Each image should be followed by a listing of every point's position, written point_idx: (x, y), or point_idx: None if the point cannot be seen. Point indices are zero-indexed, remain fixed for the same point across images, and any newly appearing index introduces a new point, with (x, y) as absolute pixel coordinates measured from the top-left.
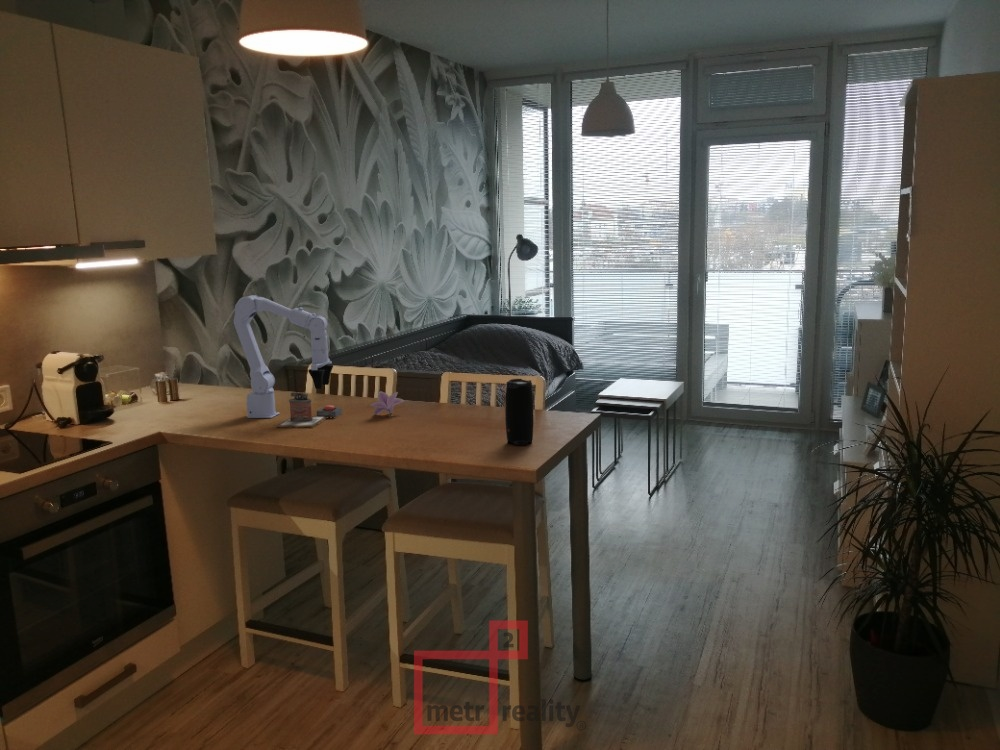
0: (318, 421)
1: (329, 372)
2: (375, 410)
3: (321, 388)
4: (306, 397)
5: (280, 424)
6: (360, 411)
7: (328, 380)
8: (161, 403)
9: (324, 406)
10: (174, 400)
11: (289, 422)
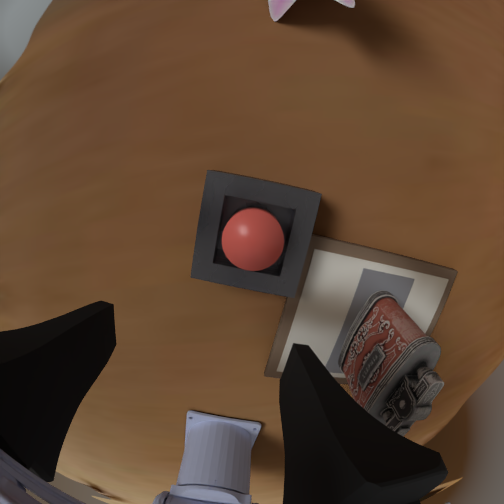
0: (398, 262)
1: (34, 353)
2: (291, 2)
3: (296, 343)
4: (432, 371)
5: None
6: (171, 87)
7: (91, 318)
8: (122, 501)
9: (255, 268)
10: (100, 491)
11: None
